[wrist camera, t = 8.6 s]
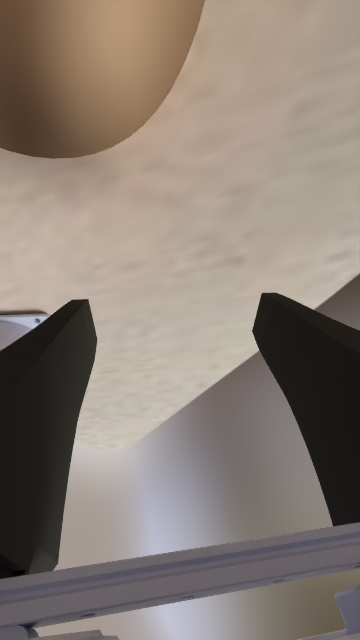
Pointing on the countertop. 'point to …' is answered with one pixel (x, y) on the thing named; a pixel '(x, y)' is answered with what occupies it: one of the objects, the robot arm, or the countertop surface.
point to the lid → (87, 70)
